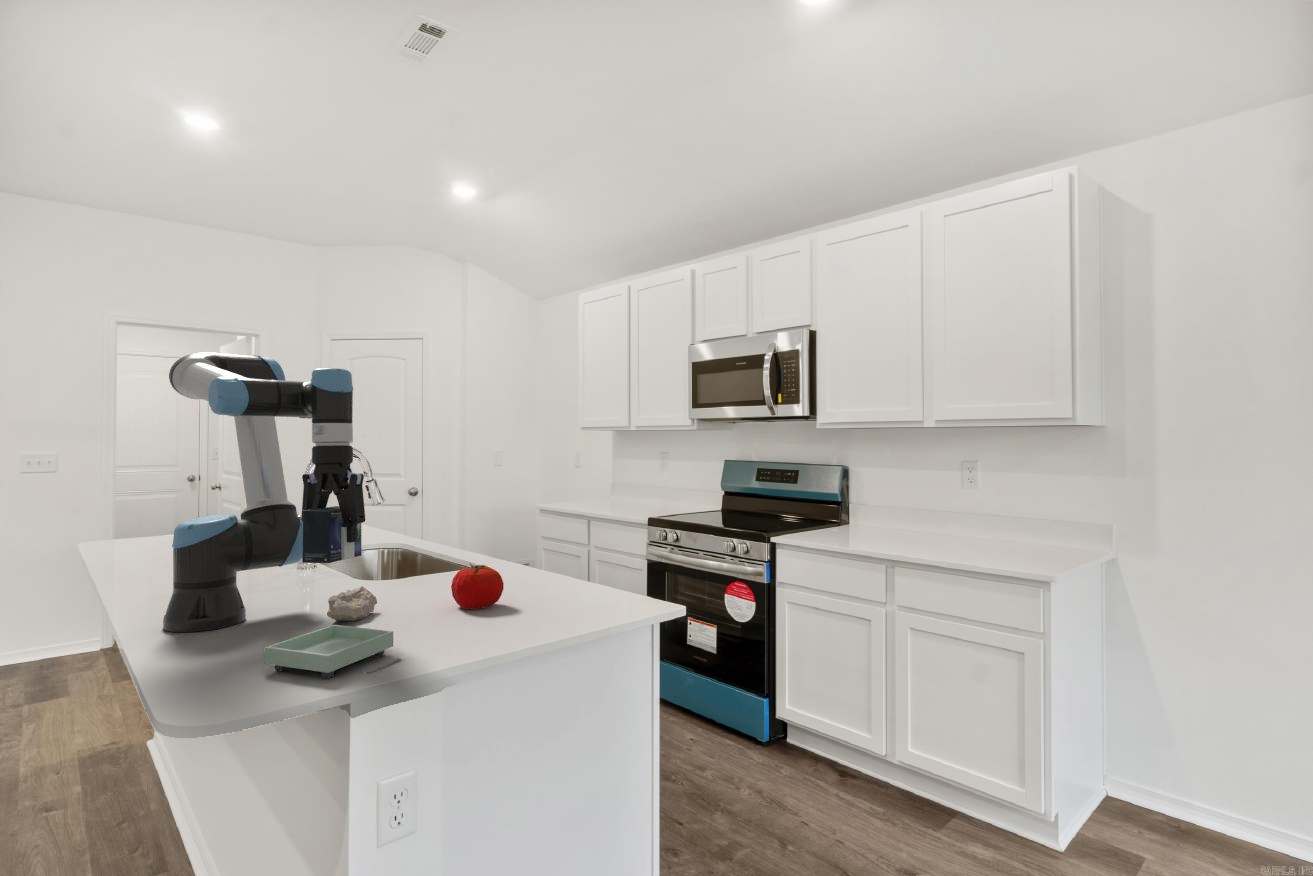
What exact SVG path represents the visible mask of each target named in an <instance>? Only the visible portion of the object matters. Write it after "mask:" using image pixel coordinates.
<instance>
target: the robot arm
mask: <svg viewBox="0 0 1313 876" xmlns="http://www.w3.org/2000/svg"><path fill="white" fill-rule="evenodd" d="M168 379H169V383H170V385H171V387H172V388H173V390H174V391H175V392H176V393H177V394H180V395H181V396H183V397H186V398H188V399H191V400H203V401H207V402H208V404H209V407H210V410H211V412H212V413H214V414H215V415H219V416H228V417H233V418H234V426H235V432H236V439H237V446H238V454H239V459H240V460H239V461H240V467H241V474H242V482H243V487H244V488H243V489H244V495H245V503H246V507H245V509H244V510H243V511H242V512H241V513H240V519H238V517H237V515H236V514H234V513H233V514H232V513H222V514H217V515H216V514H212V515H207V516H201V517H196V518H193V519H188V520H184V521H183V522H179V524H177V525H176V526H175V528H174V530H173V539H172V540H173V541H172V544H171V547H172V548H173V551H172V557H173V558H172V560H173V561H172V566H173V567H172V568H173V569H172V573H173V575H172V579H173V580H172V581H173V582H172V583H173V584H172V585H173V587H172V590H173V591H172V594H171V596H170V600H169V602H168V605H167V608H166V611H165V613H164V615H163V620H162V621H163V622H162V623H163V624H162V625H163V627H162V629H163V630H164V631H167V632H171V633H172V632H173V633H192V632H193V633H194V632H202V631H203V632H204V631H210V630H211V631H212V630H217V629H222V628H227V627H230V625H231V626H233V625H237V624H239V623H242V622H243V621H245V620H246V618H247V617H246V613H247V612H246V606H245V605H244V601H243V599H242V596H241V593H240V591H239V588H238V585H237V583H238V582H237V575H238V573H237V572H243V571H249V570H258V569H264V568H265V569H267V568H273V567H274V568H275V567H280V568H281V567H284V566H287V565H294V564H296V563H299V562H300V561H301V560H302V557H303V510H308V509H317V508H326V507H327V506H328V502H329V499H330V495H331V494H332V493H333V495H334V496H336V499H337V504H338V506H339V507H340V510H341V514H342V517H343V521H344V524H343V525H342V526H343V527H341V560H340V561H347V560H349V559H354V558H355V557H354V542H356V540H357V537H356V536H357V535H356V534H357V525H358V524H360V523H361V524H362V523H365V522H366V511H365V501H364V491H363V482H364V479H365V475H364V474H363V473H355V472H353V470H352V468H351V464H352V463H353V462H354V448H353V447H352V445H351V443H353V442H354V439H353V438H354V437H353V435H354V433H353V432H354V431H353V405H354V403H353V401H354V399H353V395H354V393H353V391H354V386H353V376H352V372H350V370H347V369H345V368H337V367H336V368H335V367H321V368H320V367H318V368H315V369H313V370H312V372H311V379H310V381H299V380H297V381H294V380H287V379H286V375H285V373H284V369H283V367H282V365H280V363H279V362H278V361H277V360H275V359H273V358H271V357H267V356H260V355H254V354H253V355H248V354H247V355H245V354H237V353H235V354H234V353H223V352H213V351H203V352H195V353H190V354H187V355H184V356H182V357H180V358H179V359H177V360H176V361H174V363H173V364H172V366H171V367H170V369H169V373H168ZM277 417H281V418H286V417H287V418H300V419H311V439H312V440H311V441H312V443H313V444H315V445H313V446H312V447H311V462H312V464H313V465H314V466H315V467H314V470H313V472H311V473H304V474H302V477H301V478H302V484H303V492H302V505H301V513H299V514H298V511H297V506H296V504H294V503H292V502H290V500H289V499H288V493H287V487H286V482H285V481H286V480H285V475H284V468H283V467H284V466H283V463H282V462H283V461H282V456H281V449H280V442H279V437H278V430H277V424H276V423H277V422H276V419H275V418H277ZM350 519H351V520H350Z"/></svg>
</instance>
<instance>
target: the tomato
mask: <svg viewBox="0 0 1313 876" xmlns="http://www.w3.org/2000/svg"><path fill="white" fill-rule="evenodd" d="M469 565H470V567H466V568H463V569H460V570H459V571H457V573H455V575H454V577H453V578H452V581H451V586H450V588H451V595H452V598H453V600H454V601H455V602H456V604H457V605H458V606H460V607H461V608H463V609H465V610H475V609H476V610H479V609H483V608H488V607H491V606H493V605H495V604H496V603H498V601H499V600H500V598H501V597H502V595H503V592H504V585H505V584H504V580H503V577H502V576H501V574H500V573H499V572H498V571H497V570H496V569H495V568H492V567H489V566H488V565H485V564H475V565H473V564H472V563H471V562H469Z"/></svg>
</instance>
